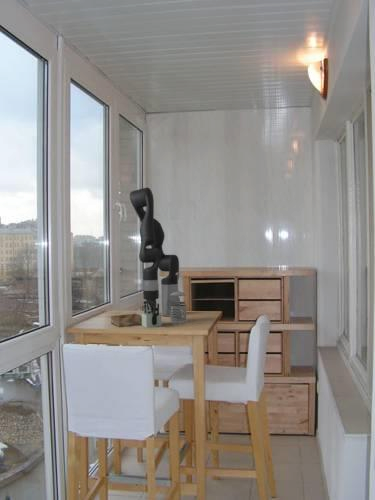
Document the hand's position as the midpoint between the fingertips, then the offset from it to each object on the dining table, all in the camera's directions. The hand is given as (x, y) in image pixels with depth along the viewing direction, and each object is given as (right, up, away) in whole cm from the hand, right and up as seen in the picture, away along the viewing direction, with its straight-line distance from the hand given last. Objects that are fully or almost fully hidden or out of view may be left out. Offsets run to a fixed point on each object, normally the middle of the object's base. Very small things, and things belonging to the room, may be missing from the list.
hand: (151, 323), depth 266 cm
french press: (+12, -1, +12) cm, 17 cm away
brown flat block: (-12, -1, +7) cm, 14 cm away
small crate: (0, -1, 0) cm, 1 cm away
